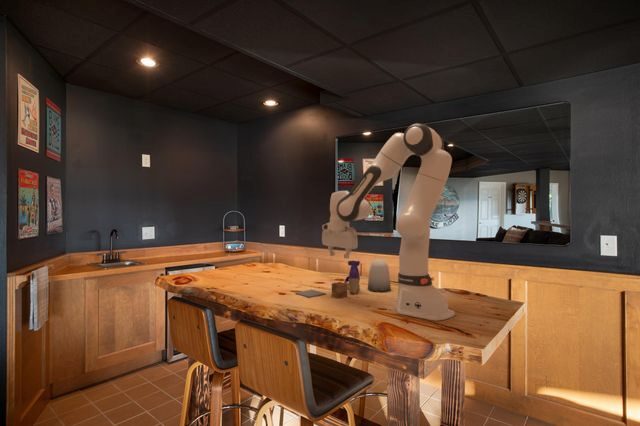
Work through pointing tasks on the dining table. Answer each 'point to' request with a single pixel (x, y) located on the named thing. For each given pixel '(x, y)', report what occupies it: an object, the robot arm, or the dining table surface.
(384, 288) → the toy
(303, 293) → the pad
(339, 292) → the walnut block
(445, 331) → the dining table surface
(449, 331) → the dining table surface
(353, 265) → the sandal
